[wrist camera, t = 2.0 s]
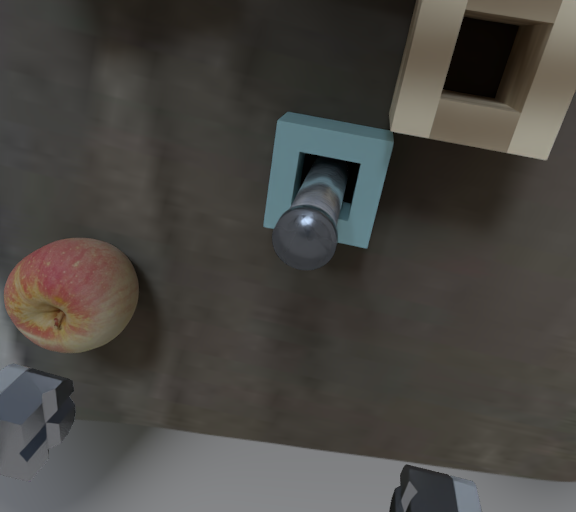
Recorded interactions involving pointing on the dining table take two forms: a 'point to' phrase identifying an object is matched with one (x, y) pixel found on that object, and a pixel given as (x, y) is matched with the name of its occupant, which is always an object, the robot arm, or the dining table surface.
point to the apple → (72, 294)
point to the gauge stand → (335, 144)
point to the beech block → (513, 86)
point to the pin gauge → (313, 217)
